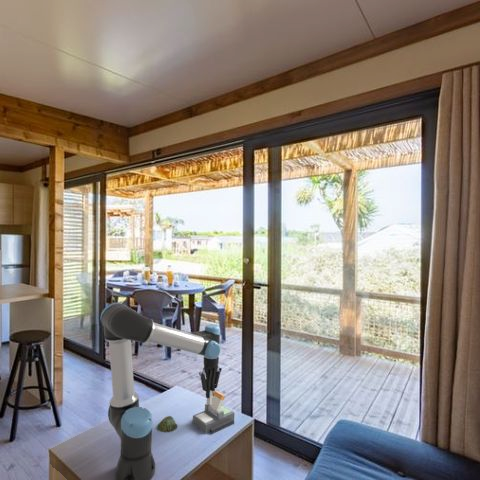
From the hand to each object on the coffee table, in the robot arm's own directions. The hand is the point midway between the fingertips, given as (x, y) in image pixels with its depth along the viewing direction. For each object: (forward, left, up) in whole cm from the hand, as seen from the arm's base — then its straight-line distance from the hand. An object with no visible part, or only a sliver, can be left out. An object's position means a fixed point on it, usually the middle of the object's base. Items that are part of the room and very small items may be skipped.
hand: (209, 403), depth 167 cm
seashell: (-17, +11, -11) cm, 23 cm away
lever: (+3, 0, -5) cm, 6 cm away
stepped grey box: (+3, 0, -10) cm, 11 cm away
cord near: (+3, -7, -10) cm, 13 cm away
